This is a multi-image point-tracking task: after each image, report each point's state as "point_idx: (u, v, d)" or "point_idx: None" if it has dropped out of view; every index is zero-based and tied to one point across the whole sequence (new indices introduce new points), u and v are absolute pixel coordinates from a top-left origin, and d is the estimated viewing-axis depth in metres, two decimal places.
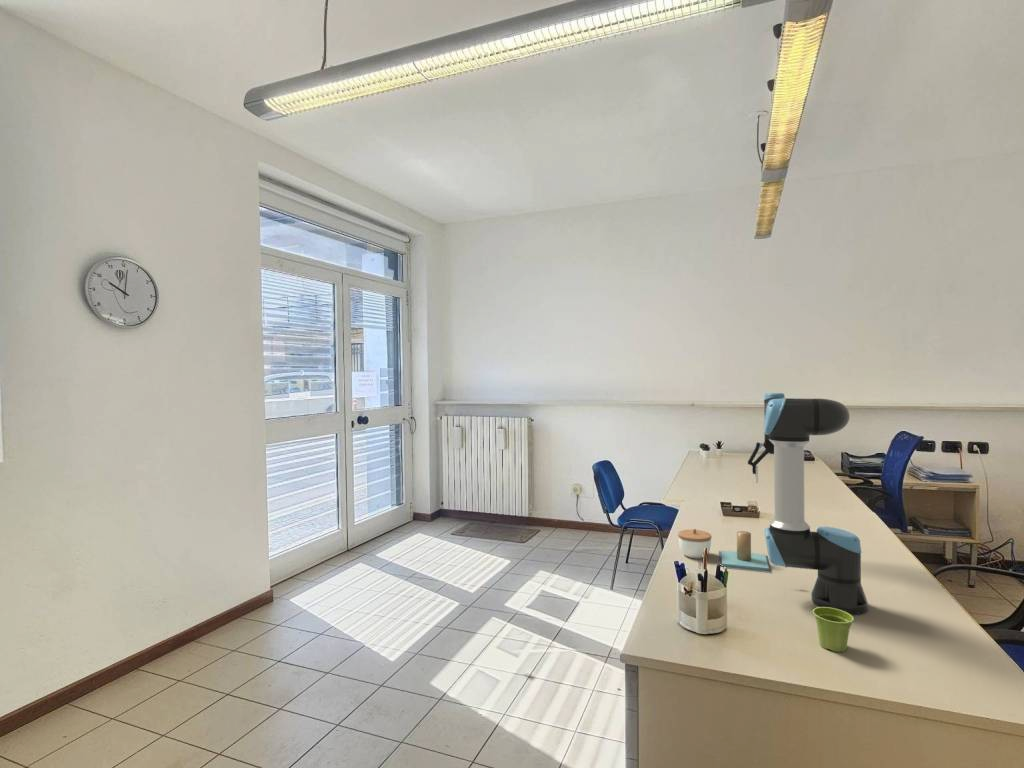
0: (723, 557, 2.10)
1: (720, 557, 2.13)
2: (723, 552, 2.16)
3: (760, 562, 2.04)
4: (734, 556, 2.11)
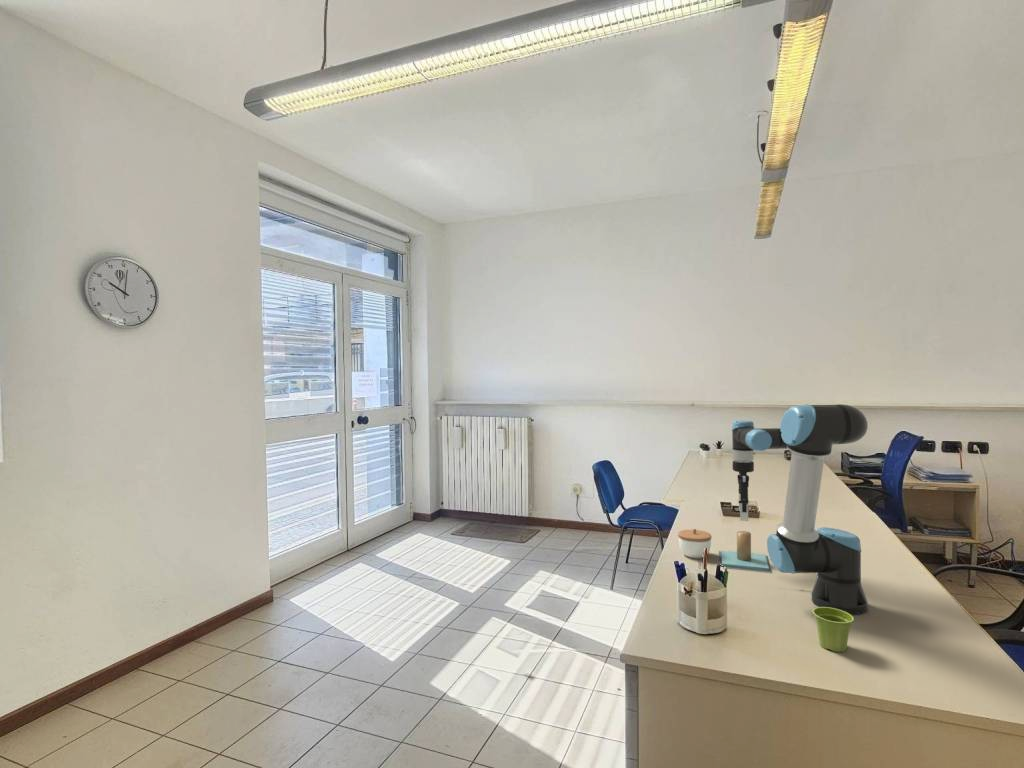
0: (723, 557, 2.10)
1: (720, 557, 2.13)
2: (723, 552, 2.16)
3: (760, 562, 2.04)
4: (734, 556, 2.11)
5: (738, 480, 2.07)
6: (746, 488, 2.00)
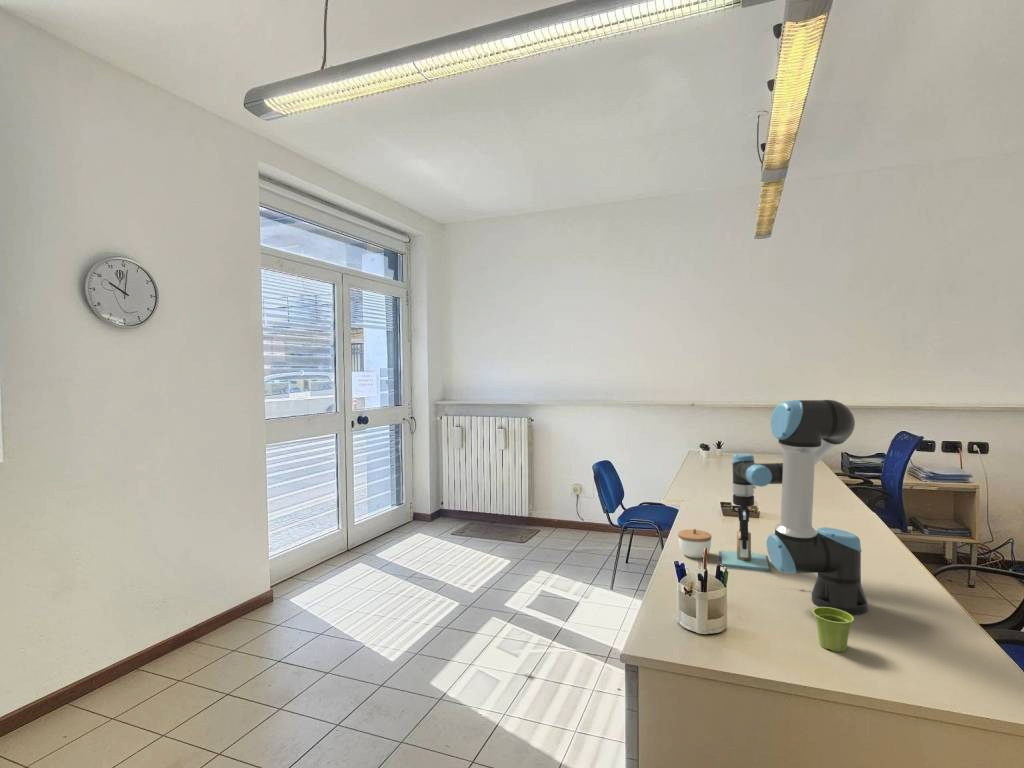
0: (723, 557, 2.10)
1: (720, 557, 2.13)
2: (723, 552, 2.16)
3: (760, 562, 2.04)
4: (734, 556, 2.11)
5: None
6: (746, 526, 2.02)
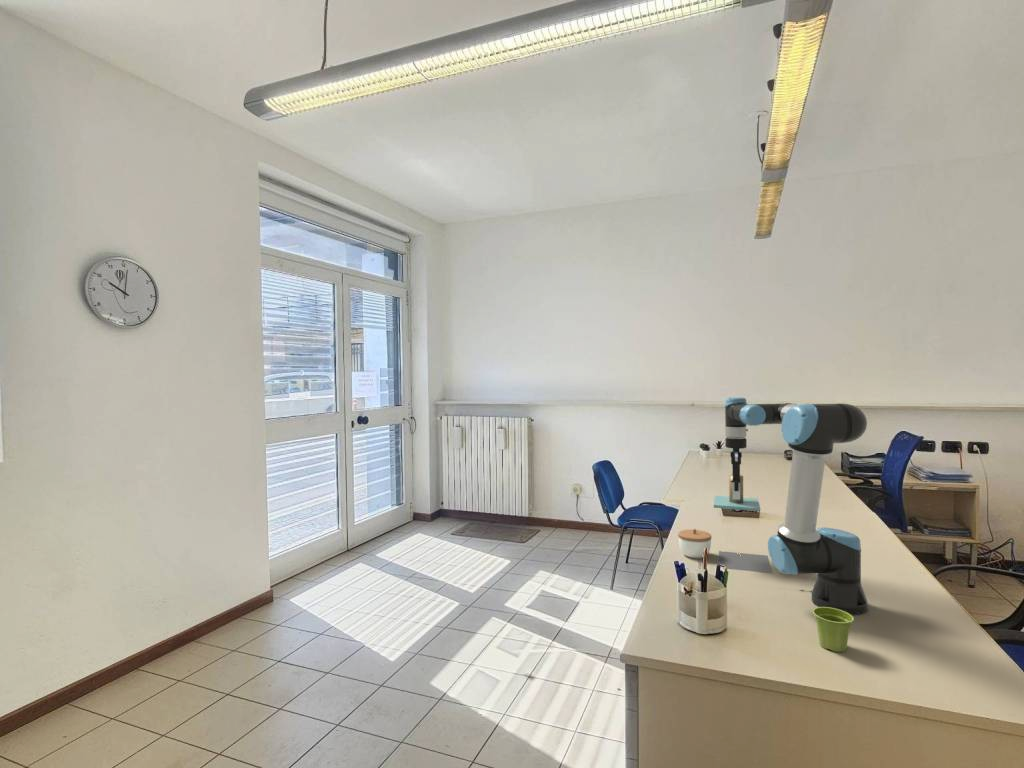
0: (715, 500, 2.11)
1: (720, 557, 2.13)
2: (716, 497, 2.17)
3: (752, 504, 2.05)
4: (727, 500, 2.12)
5: (731, 457, 2.08)
6: (738, 468, 2.03)
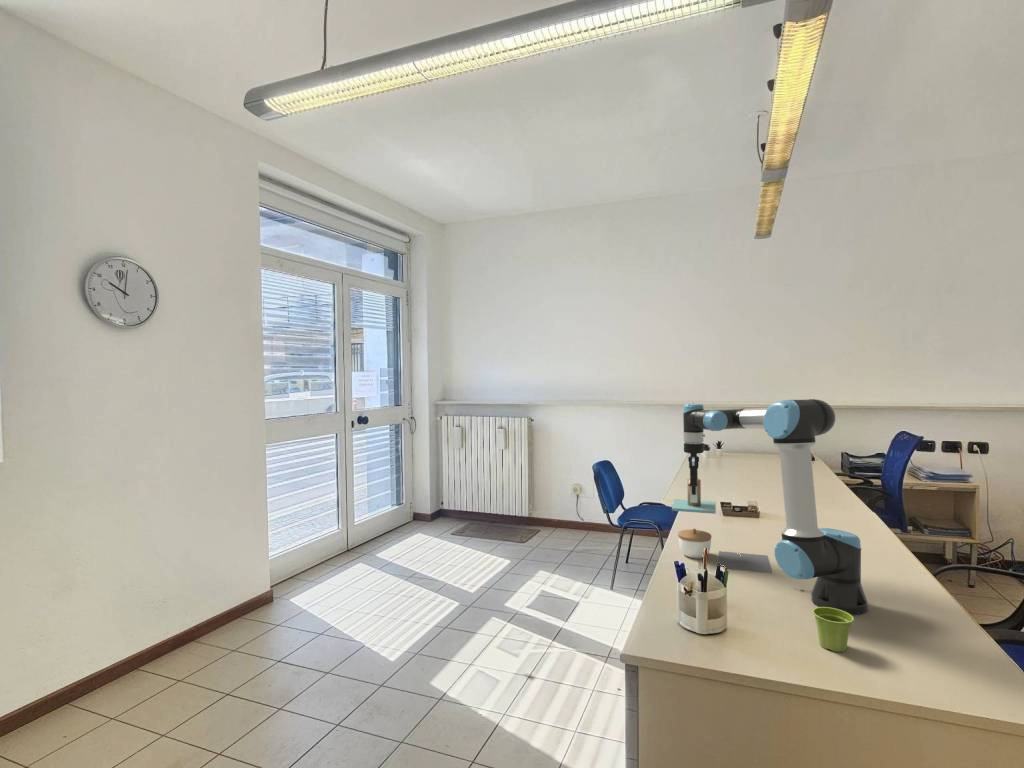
0: (674, 503, 2.18)
1: (720, 557, 2.13)
2: (676, 500, 2.24)
3: (709, 507, 2.12)
4: (685, 503, 2.19)
5: (689, 461, 2.15)
6: (695, 472, 2.10)
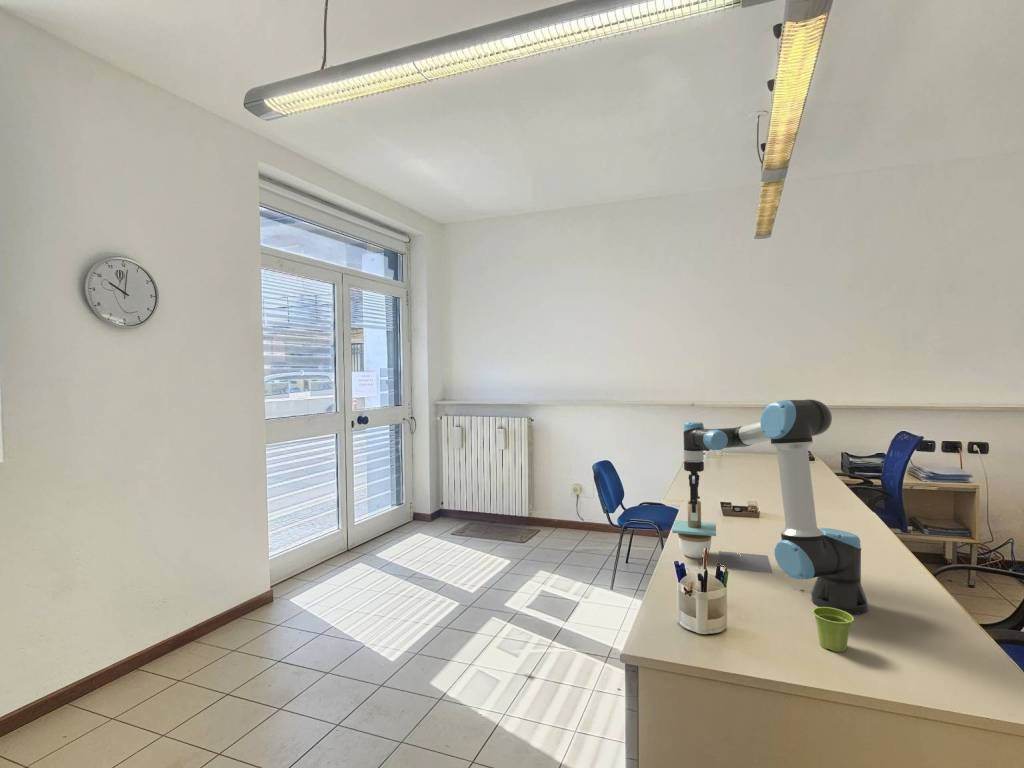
0: (675, 525, 2.18)
1: (720, 557, 2.13)
2: (676, 521, 2.24)
3: (709, 529, 2.12)
4: (686, 524, 2.19)
5: (689, 480, 2.15)
6: (695, 490, 2.09)
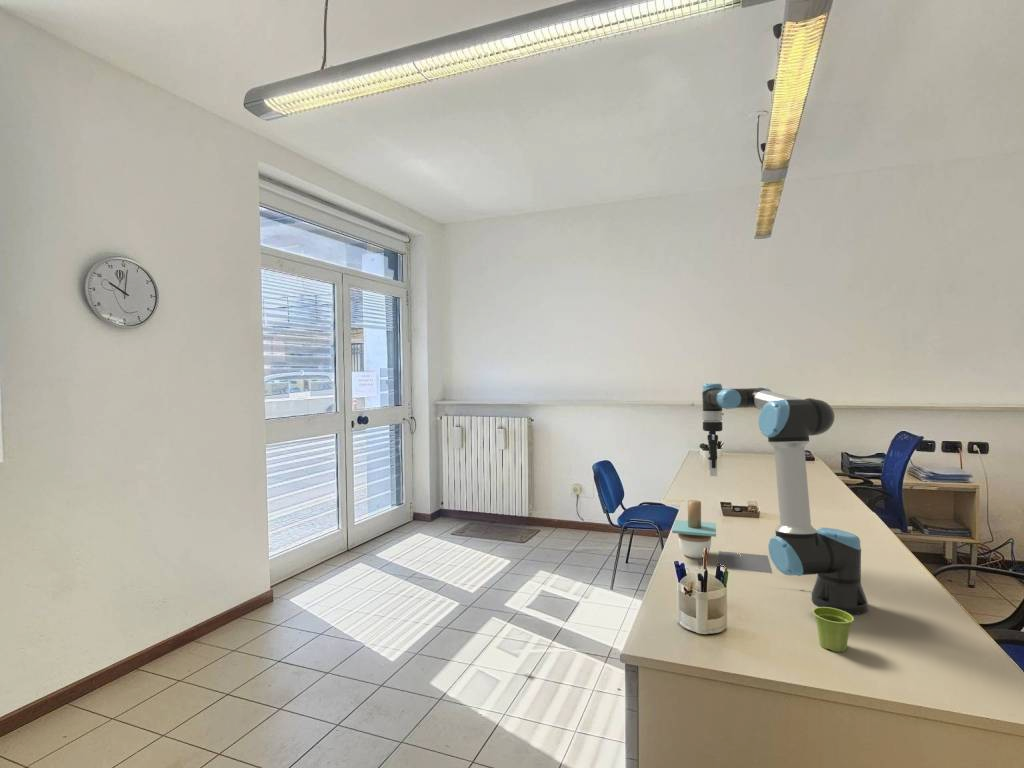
0: (675, 525, 2.18)
1: (720, 557, 2.13)
2: (676, 521, 2.24)
3: (709, 529, 2.12)
4: (686, 524, 2.19)
5: (708, 439, 2.20)
6: (715, 445, 2.13)
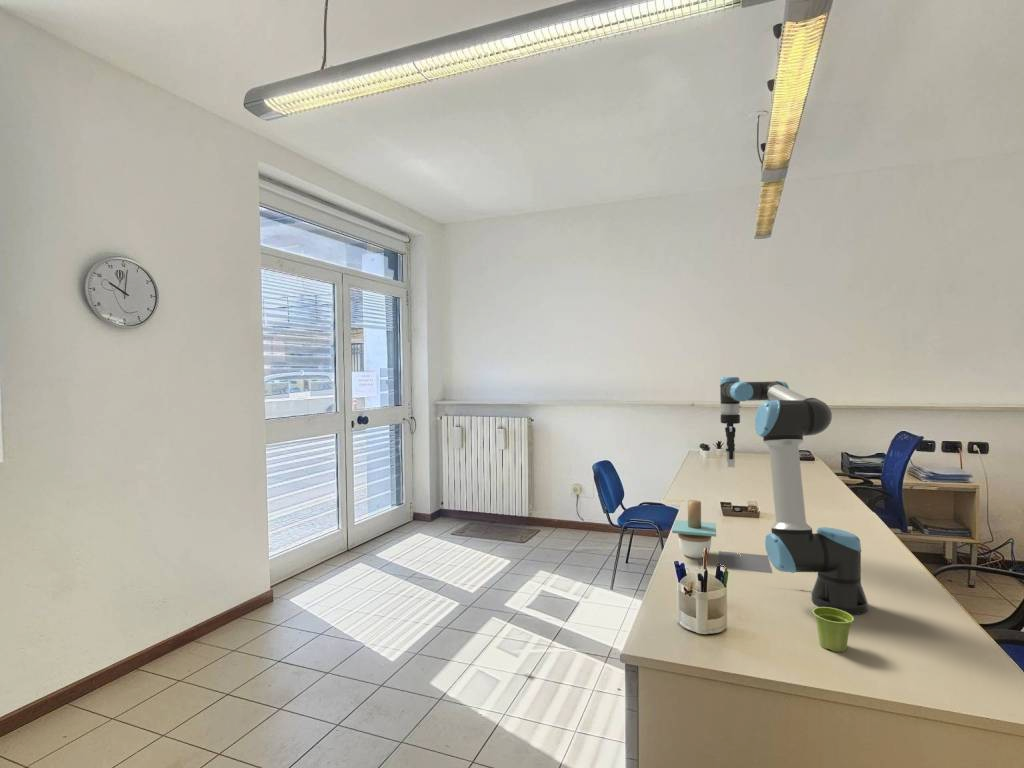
0: (675, 525, 2.18)
1: (720, 557, 2.13)
2: (676, 521, 2.24)
3: (709, 529, 2.12)
4: (686, 524, 2.19)
5: (725, 431, 2.25)
6: (732, 437, 2.19)
